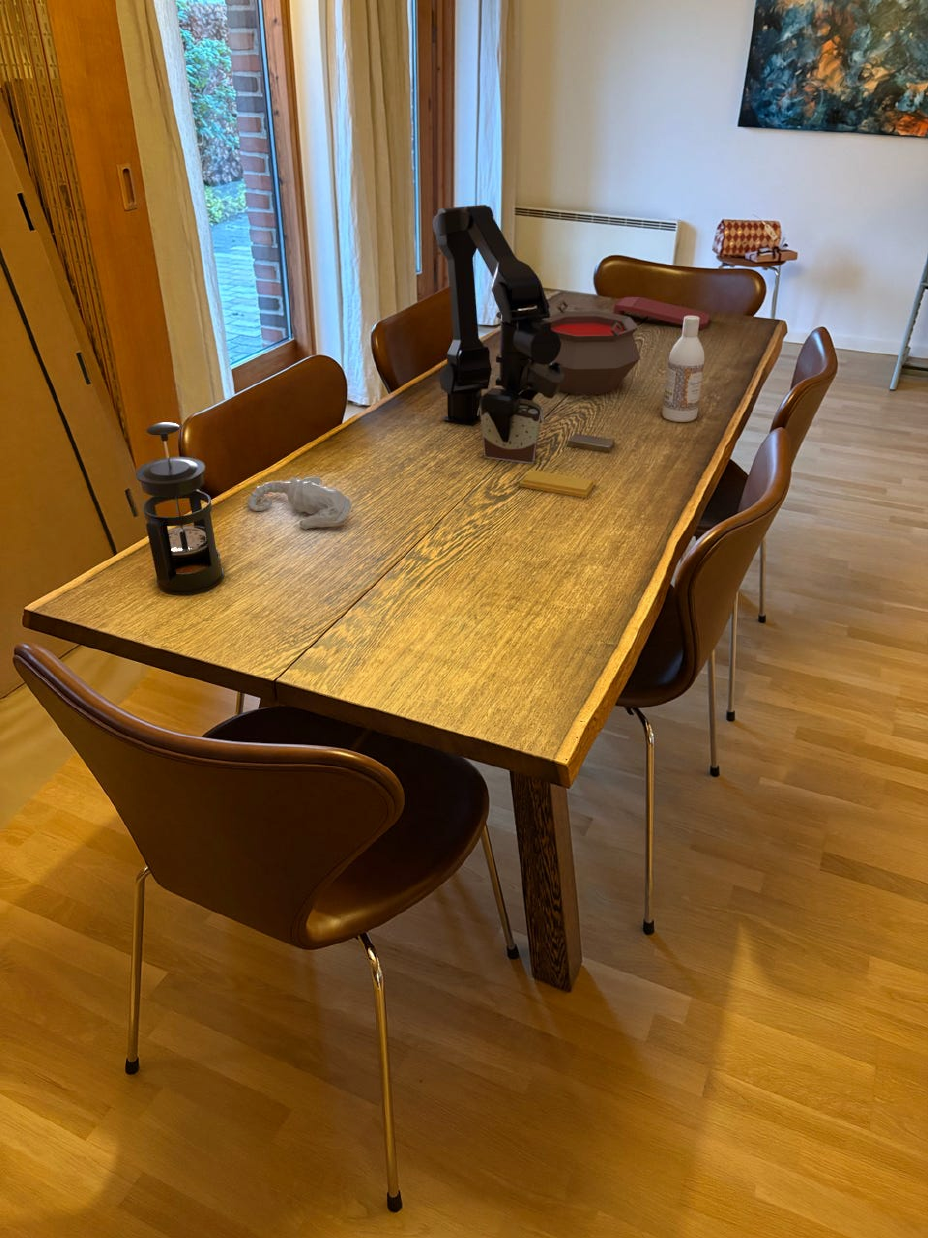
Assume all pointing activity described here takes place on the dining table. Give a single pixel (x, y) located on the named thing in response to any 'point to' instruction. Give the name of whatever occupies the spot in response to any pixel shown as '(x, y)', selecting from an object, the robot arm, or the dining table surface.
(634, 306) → the dark red bevelled block
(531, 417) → the food container
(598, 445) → the silver flat block
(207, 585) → the french press
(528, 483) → the yellow brown rectangular slab
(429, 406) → the dining table surface
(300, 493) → the seahorse
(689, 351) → the bath foam
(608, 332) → the brown faceted pot
